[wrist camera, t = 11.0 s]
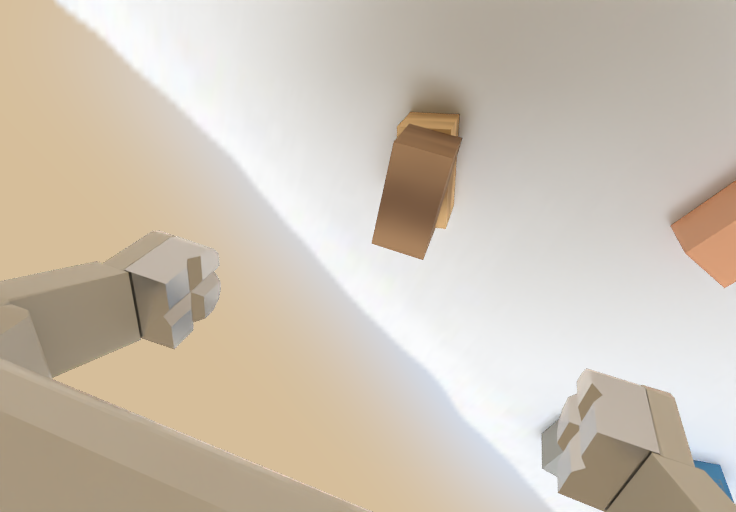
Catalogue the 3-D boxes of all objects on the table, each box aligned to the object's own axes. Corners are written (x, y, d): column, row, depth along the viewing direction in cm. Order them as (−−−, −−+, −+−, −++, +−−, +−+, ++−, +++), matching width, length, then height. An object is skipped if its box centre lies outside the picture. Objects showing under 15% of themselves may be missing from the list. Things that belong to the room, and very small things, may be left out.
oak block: (410, 111, 34) (397, 126, 31) (459, 113, 33) (451, 129, 30) (409, 201, 37) (397, 223, 34) (453, 205, 36) (445, 228, 33)
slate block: (631, 450, 43) (639, 489, 40) (606, 468, 45) (611, 507, 42) (564, 413, 43) (566, 449, 40) (541, 432, 45) (542, 468, 42)
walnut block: (409, 123, 30) (393, 141, 27) (462, 138, 30) (453, 158, 26) (387, 217, 34) (371, 243, 31) (433, 231, 34) (422, 259, 30)
